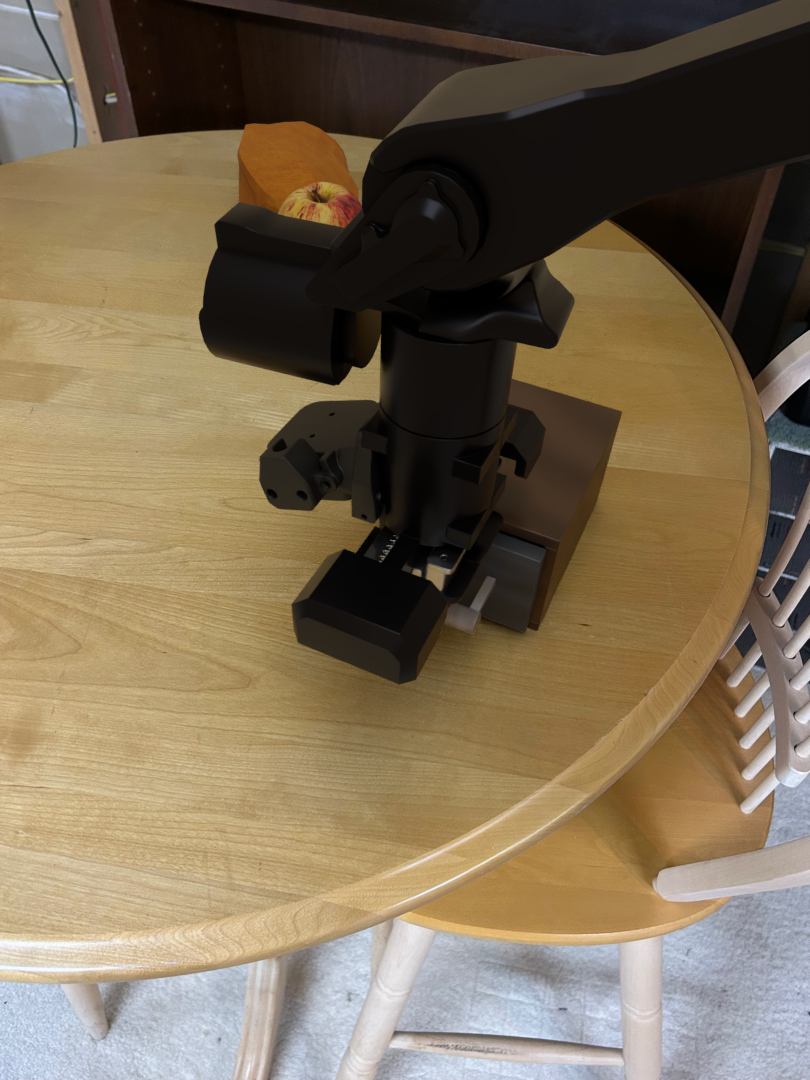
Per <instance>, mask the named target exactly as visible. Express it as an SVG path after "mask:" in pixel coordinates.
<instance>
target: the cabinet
mask: <svg viewBox="0 0 810 1080" xmlns="http://www.w3.org/2000/svg"><path fill="white" fill-rule="evenodd" d="M508 404H511V405H514V406H518V407H521V408H524V409H528V410H531V411H533V412H534V413H535V414H536V416H537V417H538V419H539V420H540V421H541V423H542V424H543V425H544V427H545V428H546V431H545V435H544V440H543V445H542V450H541V454H540V456H539V458H538V460H537V462H536V463H535V465H534V467H533V469H532V471H531V472H530V474H529V476H528V478H527V480H526V479H523V478H520V477H517V476H516V475H515V474H514V471H515V466H516V461H515V460H512V459H509V458H505V457H502V456H499V458H501V459H502V464H501V467H500V469H499V471H498V473H501V474H504V475H507V477H506V483H505V489H504V492H503V493H502V495H501V497H500V499H499V500H498V502H497V504H496V506H495V507H494V509H493V510H494V511H497V512H499V513H500V514H501V515H502V516H503V518H504V522H503V525H502V527H501V529H500V530H501V531H504V532H506V533H509V534H512V535H515V536H518V537H520V538H523V539H526V540H529V541H532V542H535V543H537V544H540V545H543V546H545V547H544V549H546V550H547V552H546V556H545V560H544V564H543V569H542V573H541V577H540V582H539V586H538V590H537V594H536V599H535V603H534V607H533V611H532V616H531V620H530V622H529V624H528V626H527V629H531V630H533V631H535V632H536V631H537V632H538V631H539V629H540V627H541V625H542V622H543V621H544V619H545V616H546V614H547V611H548V610H549V608H550V605H551V603H552V600H553V598H554V597H555V595H556V592H557V589H558V588H559V585H560V583H561V581H562V579H563V577H564V574H565V572H566V570H567V568H568V566H569V564H570V561H571V559H572V556H573V555H574V552H575V550H576V548H577V546H578V544H579V542H580V540H581V537H582V535H583V533H584V530H585V529H586V527H587V524H588V522H589V520H590V518H591V516H592V514H593V512H594V509H595V506H596V505H597V502H598V499H599V495H600V492H601V489H602V485H603V481H604V477H605V474H606V472H607V467H608V463H609V461H610V457H611V453H612V449H613V447H614V443H615V440H616V435H617V432H618V429H619V425H620V421H621V419H622V415H623V411H622V410H619V409H615V408H613V407H609V406H606V405H602V404H599V403H596V402H592V401H589V400H586V399H583V398H578V397H576V396H572V395H568V394H567V393H566V394H565V393H561V392H559V391H555V390H551V389H548V388H546V387H541V386H540V385H539V386H538V385H535V384H531V383H528V382H525V381H521V380H518V379H515V378H512V381H511V387H510V393H509V399H508Z"/></svg>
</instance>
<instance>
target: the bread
mask: <svg viewBox="0 0 810 1080" xmlns="http://www.w3.org/2000/svg"><path fill="white" fill-rule="evenodd" d="M236 157H237V161H238V203H239V202H241V203H246V204H251V205H256V206H261V207H264V208H267V209H269V210H271V211H273V212H275V213H278V212H279V210H280V208H281V206H282V204H283V202H284V201H285V200H286V199H287V197H288V196H289V195H291V194H292V193H293V192H294V191H296V190H297V189H299V188H302V187H304V186H307V185H310V184H312V183H316V182H329V183H333V184H337V185H340V186H343V187H344V188H346V189H348V190H349V191H350V192H352V193H353V194H354V195H355V196H356V197H357V199H358V200H359V196H360V195H359V194H360V193H359V187H358V186H357V185H356V182H355V181H354V179H353V178H352V176H351V175H350V169H349V166H348V159H347V157H346V154H345V151H344V149H343V148H342V146H341V145H340V144H339V143H338V141H337V140H336V139H334V138H333V137H332V136H330V135H329V134H328V133H327V132H325V131H324V130H323V129H321V128H320V127H318V126H315V125H314V124H311V123H308V122H306V121H302V120H301V121H282V122H274V123H269V124H268V123H247V124H245V125H244V129H243V132H242V136H241V139H240V142H239V145H238V149H237V155H236Z"/></svg>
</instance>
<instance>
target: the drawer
mask: <svg viewBox="0 0 810 1080" xmlns="http://www.w3.org/2000/svg"><path fill="white" fill-rule="evenodd" d="M385 524H386V521H384V520H381V519H379V518H378V527H380V528H382V529H383V527H384V526H385ZM544 547H545V546H543V545H540V544H537V543H535V542H532V541H529V540H526V539H523V538H520V537H518V536H515V535H512V534H509V533H506V532H504V531H501V530H499V532H498V534H497V536H496V538H495V539H494V541H493V543H492V545H491V547H490V548H489V550H488V552H487V553H486V555H485V556H484V557H483V559H482V560H481V561H480V562H479V563H480V567H479V568H478V570H477V572H476V574H475V576H474V578H473V579H472V581H471V583H470V585H469V587H468V588H467V590H466V592H465V594H464V596H463V597H462V599H461V600H460V601H459V602H458V603H455V604H452V605H451V606H450V607H449V608H448V610H447V617H446V620H445V622H444V625H446V626H448V627H450V628H453V629H456V630H459V631H461V632H463V633H466V634H469V635H470V636H471V635H472V636H473V635H474V634H475V633H476V632H477V629H478V628H479V626H480V625H479V624H480V622H481V620H482V619H481V618H482V617H483V618H484V619H488V620H490V621H493V622H495V623H498V624H500V625H503V626H505V627H508V628H511V629H514V630H517V631H518V632H521V633H526V631H527V629H528V627H527V626H528V624H529V622H530V620H531V616H532V611H533V607H534V603H535V599H536V594H537V590H538V586H539V582H540V577H541V573H542V569H543V564H544V560H545V556H546V552H547V550H546V549H544Z"/></svg>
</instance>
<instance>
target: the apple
mask: <svg viewBox="0 0 810 1080" xmlns="http://www.w3.org/2000/svg"><path fill="white" fill-rule="evenodd" d="M361 209H362V202H361V201H360V200H359V198H358V199H357V197H356V196H355V195H354V194H353V193H352V192H350V191H349V190H348V189H346V188H344V187H343V186H340V185H337V184H333V183H329V182H316V183H312V184H310V185H307V186H304V187H302V188H299V189H297V190H296V191H294V192H293V193H292V194H291V195H289V196H288V197H287V199H286V200H285V201H284V202H283V204H282V206H281V208H280V210H279V212H278V214H280V215H284V216H288V217H294V218H299V219H304V220H309V221H314V222H319V223H324V224H329V225H334V226H339V227H344V228H345V227H346V226H347V225H348V223H349V222H350V221H351V220H352V219H353V218H354V217H355V216H356V214H357V213H358V212H359V211H360V210H361Z"/></svg>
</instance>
